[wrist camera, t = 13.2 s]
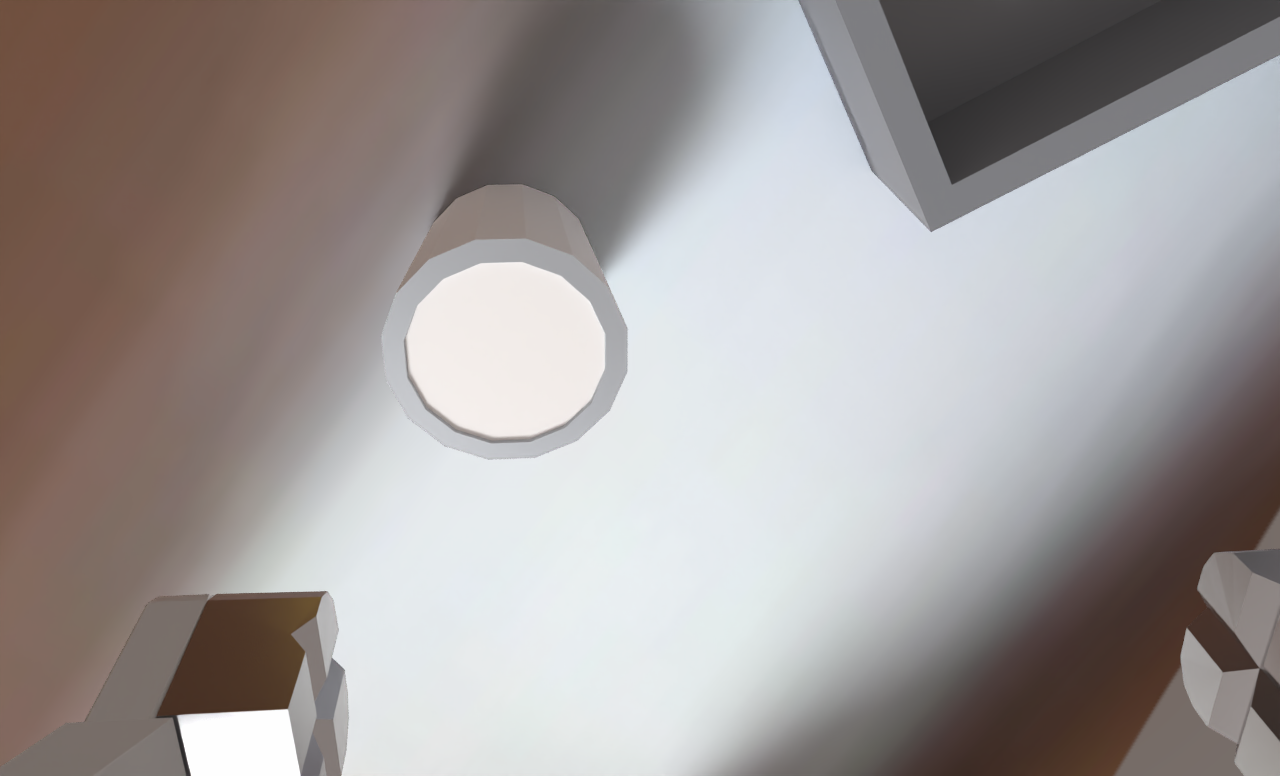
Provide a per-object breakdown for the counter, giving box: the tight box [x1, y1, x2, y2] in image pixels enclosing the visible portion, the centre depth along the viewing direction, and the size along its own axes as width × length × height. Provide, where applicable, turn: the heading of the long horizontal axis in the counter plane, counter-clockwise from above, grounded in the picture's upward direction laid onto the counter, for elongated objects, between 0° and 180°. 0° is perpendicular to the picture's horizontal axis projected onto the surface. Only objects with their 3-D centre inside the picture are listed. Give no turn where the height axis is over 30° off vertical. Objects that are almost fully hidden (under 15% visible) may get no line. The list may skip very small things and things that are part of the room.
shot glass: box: [381, 184, 627, 460], centre depth 34 cm, size 7×7×7 cm
